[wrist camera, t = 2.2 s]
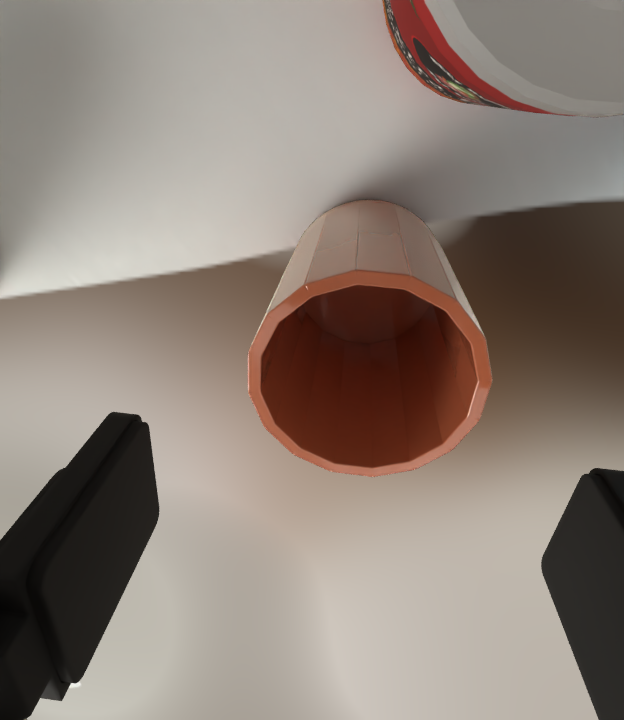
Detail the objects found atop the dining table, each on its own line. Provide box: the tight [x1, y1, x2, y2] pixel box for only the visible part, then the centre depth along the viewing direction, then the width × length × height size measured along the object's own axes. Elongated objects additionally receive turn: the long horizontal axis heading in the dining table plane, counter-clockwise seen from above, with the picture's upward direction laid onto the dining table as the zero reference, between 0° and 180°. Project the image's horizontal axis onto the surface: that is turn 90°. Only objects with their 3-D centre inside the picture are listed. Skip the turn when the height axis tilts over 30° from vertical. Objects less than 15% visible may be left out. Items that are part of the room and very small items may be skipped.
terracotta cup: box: [248, 200, 493, 477], centre depth 17 cm, size 7×7×9 cm
